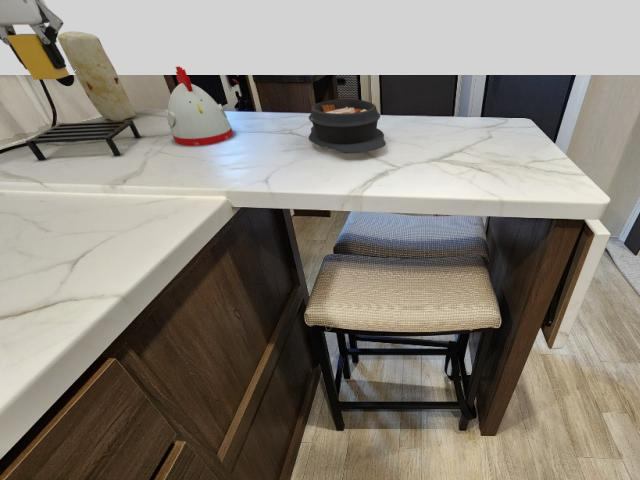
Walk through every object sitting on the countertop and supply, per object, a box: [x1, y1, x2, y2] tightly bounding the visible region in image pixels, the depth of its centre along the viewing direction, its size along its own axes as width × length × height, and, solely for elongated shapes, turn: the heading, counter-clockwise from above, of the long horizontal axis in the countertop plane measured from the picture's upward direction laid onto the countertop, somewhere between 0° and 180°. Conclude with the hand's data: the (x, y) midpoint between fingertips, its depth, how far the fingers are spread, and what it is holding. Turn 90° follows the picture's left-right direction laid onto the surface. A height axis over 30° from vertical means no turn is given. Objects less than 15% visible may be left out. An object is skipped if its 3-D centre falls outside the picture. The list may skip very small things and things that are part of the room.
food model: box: [57, 30, 136, 121], centre depth 90 cm, size 10×7×20 cm
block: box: [7, 33, 70, 80], centre depth 67 cm, size 4×4×7 cm
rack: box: [25, 119, 142, 162], centre depth 77 cm, size 16×14×4 cm
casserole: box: [308, 98, 387, 154], centre depth 80 cm, size 25×19×8 cm
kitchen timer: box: [164, 65, 234, 147], centre depth 80 cm, size 14×14×15 cm
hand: (46, 67), depth 68 cm, fingers closed on block, 4 cm apart
